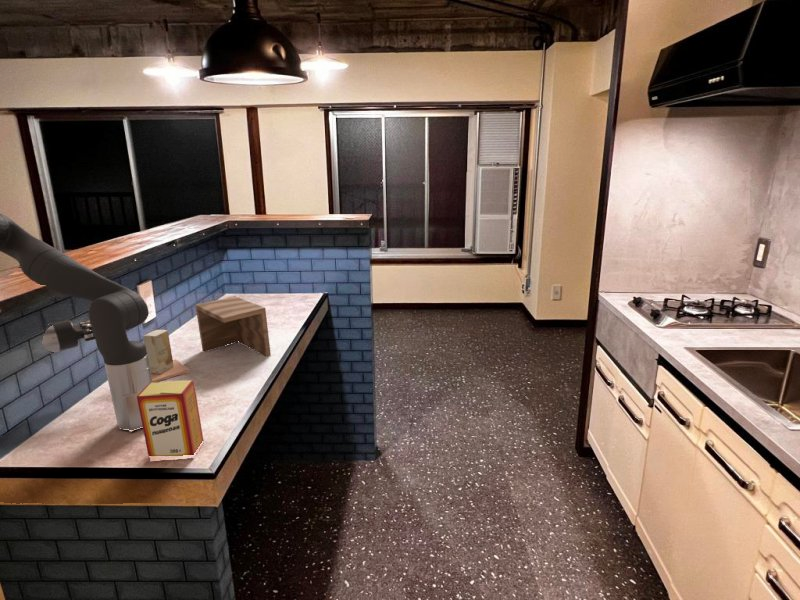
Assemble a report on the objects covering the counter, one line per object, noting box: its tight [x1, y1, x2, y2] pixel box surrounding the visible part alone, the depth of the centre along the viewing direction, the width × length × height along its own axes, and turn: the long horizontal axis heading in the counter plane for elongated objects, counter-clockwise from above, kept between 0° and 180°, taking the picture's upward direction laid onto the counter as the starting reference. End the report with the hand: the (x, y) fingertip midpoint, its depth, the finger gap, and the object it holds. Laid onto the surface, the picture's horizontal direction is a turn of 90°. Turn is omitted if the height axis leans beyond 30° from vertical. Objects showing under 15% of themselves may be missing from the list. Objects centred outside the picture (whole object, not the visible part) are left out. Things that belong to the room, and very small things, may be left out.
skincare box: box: [142, 329, 174, 374], centre depth 152 cm, size 6×4×12 cm
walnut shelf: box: [195, 296, 272, 358], centre depth 165 cm, size 22×14×16 cm, turn 43°
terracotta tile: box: [151, 359, 191, 383], centre depth 154 cm, size 12×12×1 cm
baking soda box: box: [137, 379, 204, 457], centre depth 109 cm, size 10×6×16 cm
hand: (120, 322), depth 142 cm, fingers open, 8 cm apart
